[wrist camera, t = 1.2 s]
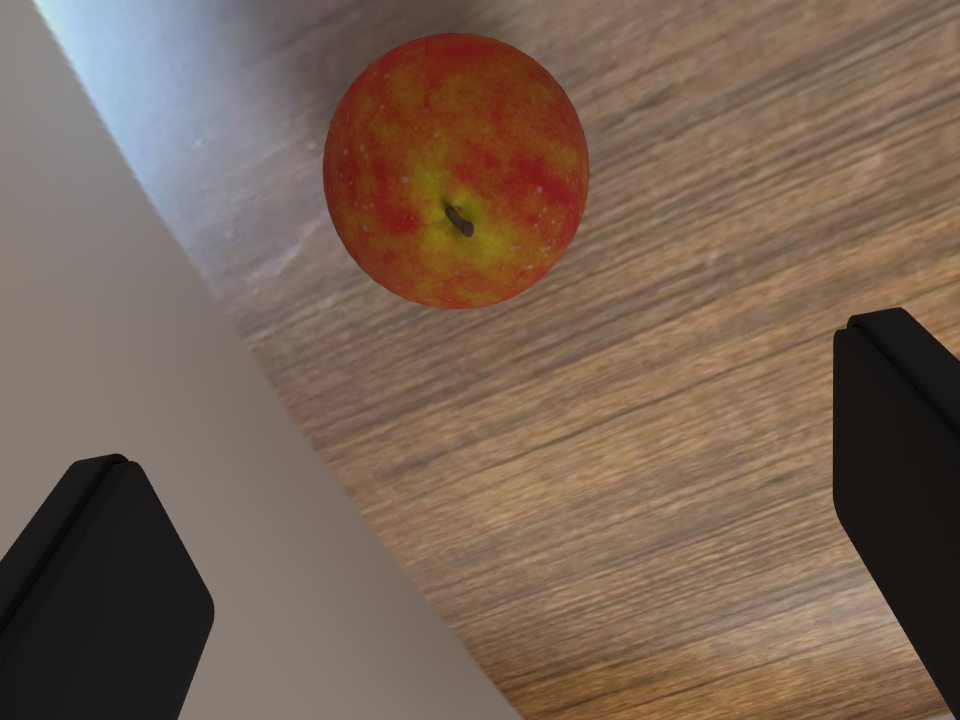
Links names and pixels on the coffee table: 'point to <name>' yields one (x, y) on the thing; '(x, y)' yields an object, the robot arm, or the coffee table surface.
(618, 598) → the coffee table surface
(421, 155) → the fruit
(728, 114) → the coffee table surface
